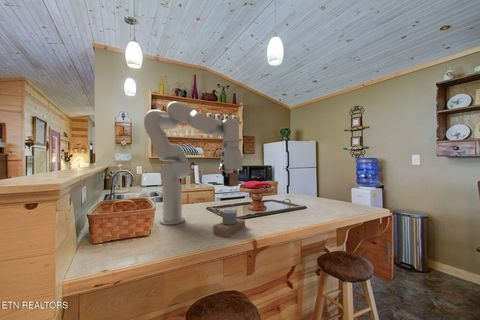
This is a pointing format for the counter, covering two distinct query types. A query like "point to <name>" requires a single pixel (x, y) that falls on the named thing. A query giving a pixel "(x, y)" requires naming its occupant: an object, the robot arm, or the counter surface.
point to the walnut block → (232, 179)
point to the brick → (228, 228)
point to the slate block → (229, 217)
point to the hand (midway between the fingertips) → (230, 184)
